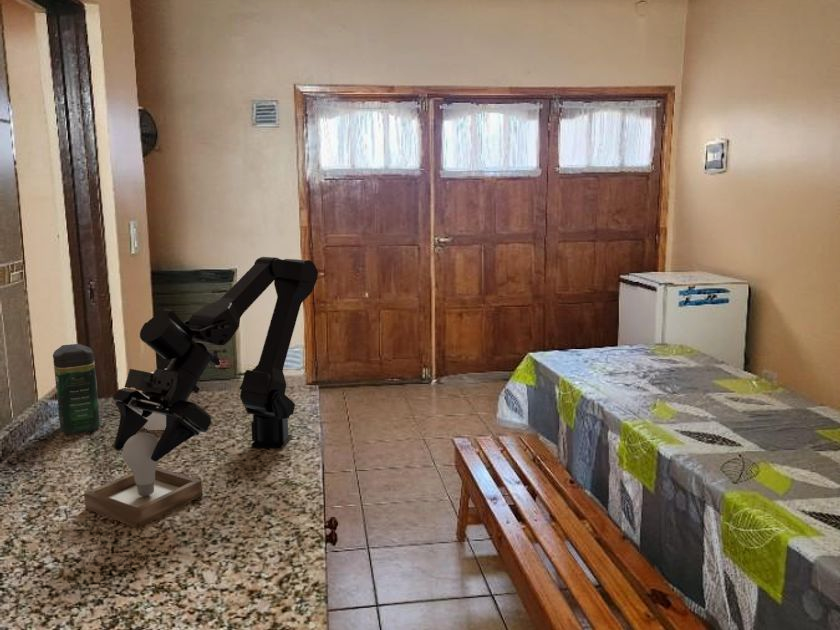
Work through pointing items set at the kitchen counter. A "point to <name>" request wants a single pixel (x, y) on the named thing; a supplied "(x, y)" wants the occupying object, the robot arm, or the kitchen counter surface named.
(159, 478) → the walnut tray
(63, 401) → the coffee jar
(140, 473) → the lightbulb
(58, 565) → the kitchen counter surface
